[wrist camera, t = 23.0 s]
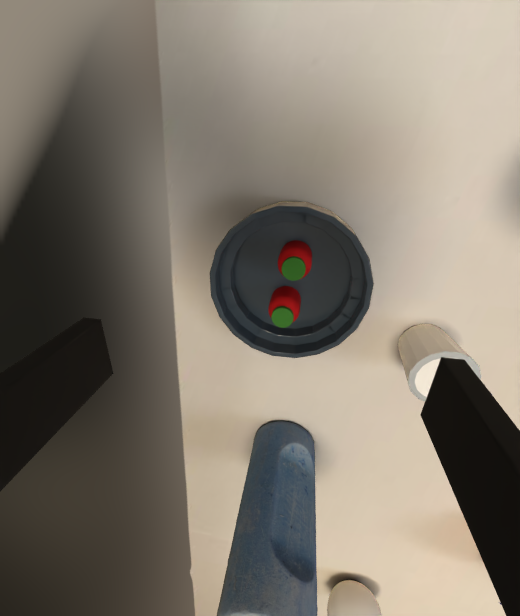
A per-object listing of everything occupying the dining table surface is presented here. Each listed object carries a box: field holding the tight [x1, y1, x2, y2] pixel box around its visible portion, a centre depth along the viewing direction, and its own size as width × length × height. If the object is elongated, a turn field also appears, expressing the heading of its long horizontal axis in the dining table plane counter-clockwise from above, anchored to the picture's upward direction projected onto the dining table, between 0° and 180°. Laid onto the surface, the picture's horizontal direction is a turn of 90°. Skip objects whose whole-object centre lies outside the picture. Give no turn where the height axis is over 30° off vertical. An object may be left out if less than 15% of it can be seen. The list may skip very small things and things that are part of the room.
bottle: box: [217, 421, 317, 616], centre depth 35 cm, size 10×10×30 cm
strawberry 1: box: [278, 240, 312, 281], centre depth 32 cm, size 4×4×5 cm
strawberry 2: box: [268, 286, 301, 328], centre depth 35 cm, size 4×4×5 cm
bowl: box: [210, 201, 373, 358], centre depth 34 cm, size 17×17×4 cm
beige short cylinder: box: [398, 324, 481, 401], centre depth 34 cm, size 7×7×7 cm
